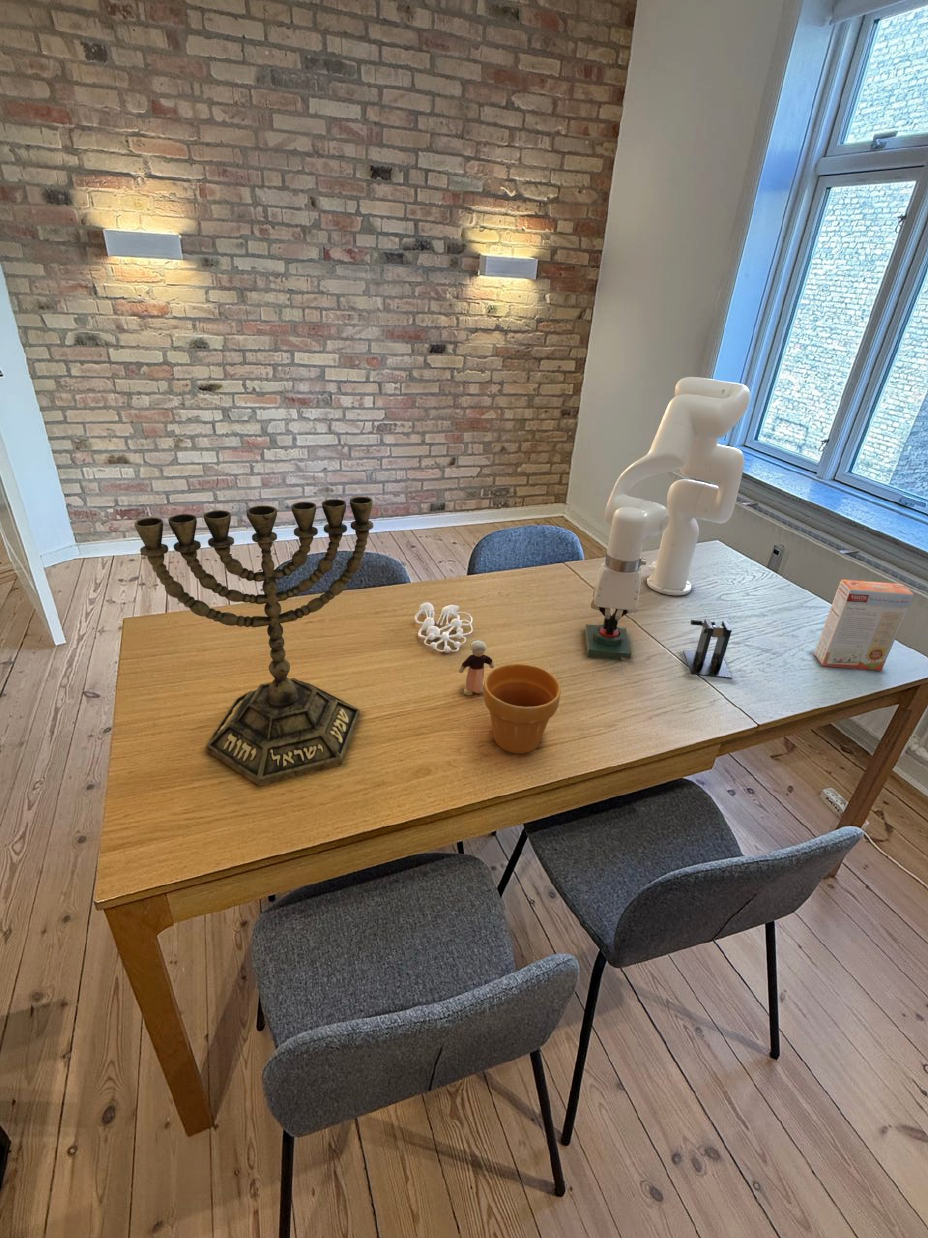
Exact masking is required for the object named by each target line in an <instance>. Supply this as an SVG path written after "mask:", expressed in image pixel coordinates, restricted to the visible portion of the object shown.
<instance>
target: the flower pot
mask: <svg viewBox="0 0 928 1238" xmlns="http://www.w3.org/2000/svg"><path fill="white" fill-rule="evenodd" d="M483 690H484V693H483V701H484V704H485V706H486V708H487V710H489V716H490V722H491V729H492V733H493V737H494V741H495V743H496V744H497V745H498V747H500V748H501V749H502V750H504V751H505V752H509V753H512V754H525V753H526V754H527V753H531V752H532V751H534V750H535V749H537V747H538V746H539V744H540V742H541V740H542V737H543V735H544V734H545V731H546V728H547V725H548V722H549V721H550V718H552V717H553V716H554V715H555V713H556V712H557V710H558V708H559V704H560V700H561V695H562V694H561V692H562V688H561V684H560V682H559V680H558V679H557V677H556V676H555V675H554V674H552V673H551V672H549V671H548V670H546V669H544V668H541V667H539V666H536V665H531V664H526V663H509V664H504V665H500V666H498V667H494V668H493V669H492V670H491V671H490V672H488V673H487V675H486V676H485V678H484V680H483Z"/></svg>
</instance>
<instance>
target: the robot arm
mask: <svg viewBox="0 0 928 1238" xmlns="http://www.w3.org/2000/svg"><path fill="white" fill-rule="evenodd" d="M750 400H751V392H750V389H749V387H748V386H747V385H745V384H743V383H739V382H731V381H725V380H718V379H712V378H708V377H707V378H705V377H698V376H686V377H682V378H680V379H679V380H678V381H677V382H676V384H675V388H674V397H672V398H671V400H670V401H669V402H668V405H667V407H666V409H665V411H664V413H663V416H662V419H661V421H660V423H659V426H658V429H657V431H656V433H655V435H654V438H653V441H652V442H651V446H650V449H649V451H648V452H647V454H645V455H644V456H642V457H640V458H639V459H637V460H636V461H634V462H633V463H632V464H631V465H629V466H627V468H626V469H625V470H623V472H621V474H620V475H619V477H618V478H617V480H616V481H615V484H614V486H613V488H612V490H611V493H610V495H609V497H608V501H607V503H606V507H605V510H604V516H605V520H606V522H607V523H608V524H609V525H611V526H610V532H609V539H608V543H607V548H606V549H607V550H606V555H605V559H604V561H603V562H601V564H600V566H599V569H598V571H597V574H596V577H595V578H596V579H595V581H594V587H593V592H592V600H591V602H590V609H592V610H595V611H598V612H600V613H601V614H602V615H603V617H604V619H603V623H602V624H603V629H606V634H609V633H610V634H612V635H613V632H614V630H616V629H617V627H618V623H619V621H620V620H621V618H622V617H625V615H627V614H635V613H637V612H638V609H637V607H638V604H639V598H640V591H641V581H642V571H641V570H642V569H641V566H646V565H647V559H646V558H642V552H643V547H644V543H645V539H649V538H654V537H657V536H658V535H660V534H661V533H662V536H661V541H660V545H659V549H658V553H657V558H656V560H654V561H652V562H651V563H650V564H649V565H648V566H647V569H648V570H650V571H651V575H650V574H649V576H648V577H647V579H646V584H647V586H648V587H649V588H650V589H651V590H653V591H655V592H657V593H659V594H663V595H668V596H684V595H688V594H689V593H690V592H691V590H692V583H691V582H690V581H689V576H690V572H691V568H692V564H693V560H694V555H695V552H696V548H697V543H698V539H699V534H700V529H699V525H698V522H697V520H701V521H705V522H708V523H714V524H725V523H727V522H728V521H729V520H730V519H731V517H732V515H733V513H734V510H735V506H736V502H737V498H738V493H739V490H740V486H741V481H742V478H743V473H744V467H745V455H744V453H743V452H742V450H740V449H739V448H736V447H732V446H728V445H723V444H719V439H722V438H724V437H725V436H726V435H727V434H728V433H729V432H730V431H731V430H732V429H733V428H734V427H735V426H736V425H737V424H738V423H739V421H740V420H741V419H742V418H743V417H744V415H745V414H746V412H747V411H748V408H749V405H750ZM675 471H679V472H680V473H681V475H683V476H685V477H688V478H687V479H686V478H683V479H677V480H675V481H674V482H673V483H672V484H671V485H670V486H669V489H668V490H667V491H668V492H667V497H666V505H663V504H661V503H659V502H654V501H650V500H646V499H643V498H639V497H634V496H630V495H628V494H629V493H630V491H631V489H632V488H633V487H634V486H635V485H636V484H637V483H639V482H640V481H642V480H644V479H646V478H648V477H653V476H657V475H660V474H666V473H671V472H675ZM689 478H690V479H689ZM694 479H695V480H694ZM698 480H699V481H698ZM703 481H704V482H703ZM711 483H712V484H711ZM611 609H613V610H614V612H613V613H611Z"/></svg>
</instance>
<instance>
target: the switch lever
mask: <svg viewBox="0 0 928 1238" xmlns="http://www.w3.org/2000/svg"><path fill="white" fill-rule="evenodd" d="M710 622H711V624H712V626H713V632H712V636H711V638H716V639H718V638H722V636H723V630H724V628H723V627H722V626H721V625H718V624H716V622H715V621H714V620H713V621H712V620H710ZM703 624H704V620H702V619H691V620H690V626H698V627H699V626H700V627H703Z"/></svg>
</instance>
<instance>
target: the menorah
mask: <svg viewBox="0 0 928 1238" xmlns="http://www.w3.org/2000/svg"><path fill="white" fill-rule="evenodd" d="M373 505H374V501H373V499H372V498H371V497H369V496H353V497H350V499H349V506H350V509H351V513H352V515H353V519H354V520H353V521H352V522H350V529H352V530H353V531H355V536H356V538H357V539H356V540H355V545H354V550H353V551H352V556H350V557H349V558H348V559H347V561H346V565H345V566H346V567H345V569H343V570H342V573H341V574H339V578H336V579H335V580H333V581H332V582H331V584H330V585H329V587H328V589H327V590H325V591H324V593H321V594H320V595H319V597H314V598H312V599H311V600H309V601H308V602H307V604H303V605H301V606H300V607H296V608H295V609H290V610H287V611H285V612H282V606H281V604H280V603H279V602H284V601H287V600H288V599H289V598H293V597H294V596H298V595H299V594H300V593H305V592H308V591H309V590H311V589H312V588H313V587H314V586H315V584H317V583H319V582H320V579H322V578H323V577H325V574H326V573H328V572H330V571H331V570H332V569H333V566H334V560H335V559H336V557H337V554H338V552H339V551H338V549H339V548H340V541H341V540H342V538H343V535H344V534H345V533H346V532H347V531H348V526H347V525H346V524H345V523H343V521H344V517H345V515H346V510H347V502H346V501H345V500H343V499H340V498H339V499H338V498H330V499H325V500H322V502H321V508H322V511H323V513H324V516H325V519H326V522H327V524H324V526H323V532H324V533H326V534H327V535H328V539H329V542H328V543H327V546H328V547H327V548H326V553H325V554H324V556H323V557H322V558H320V559H319V561H318V562H317V568H315V569H314V570H313V572H311V573H309V577H307V578H304V579H302V580H300V581H299V582H298V583H297V585H294V586H292V587H291V588H287V589H286V590H280V591H279V584H278V581H276V580H281V579H284V578H285V577H286V576H287V577H289V576H291V575H292V574H293V573H294V572H296V571H297V570H298V568H300V567H302V566H303V565H305V564H306V562H307V560H308V554H309V553H310V552H311V545H312V543H313V541H314V537H315V536H317V535H318V534H319V529H318V528H317V527H316V526H313V525H314V521H315V517H316V513H317V504H316V503H314V502H311V501H297V502H294V503H292V504H291V506H290V508H291V513H292V515H293V518H294V520H295V522H296V525H297V527H295V528H294V529H293V535H294V536H295V537H298V540H299V544H300V545H299V546H298V549H297V550H296V551H295V552H294V553H293V554H292V555H291V561H288V562H287V564H286V565H282V568H276V569H275V562H274V560H273V556H272V549H271V548H272V546H273V544H274V542H275V541H277V539H278V534H277V533H276V532H275V531H273V530H274V527H275V523H276V519H277V517H278V510H277V508H276V507H275V506H272V505H262V504H261V505H254V506H251V507H249V508H247V509H246V510H245V513H246V517H247V519H248V522H249V523H250V525H251V526H252V528H253V530H254V531H255V532H254V533H253V534H252V535H251V540H252V541H253V542H254V543H256V544H257V545H258V548H260V550H261V552H260V553H261V563H260V567H261V571H256V572H254V571H253V570H252V569H248V568H247V567H243V564H242V562H241V561H240V560H238V559H236V558H233V556H232V555H231V546H233V545H234V544H235V539H234V537H233V536H231V535H229V533H230V527H231V522H232V514H231V512H230V511H228V510H223V509H217V510H216V509H215V510H210V511H207V512H204V513H203V521H204V523H205V525H206V527H207V529H208V530H209V533H210V534H211V537H210V538H209V539H207V544H208V546H209V547H210V548H212V549H213V548H214V551H215V553H216V554H217V555H218V556H219V560H220V562H221V564H223V565H224V567H225V569H226V571H227V572H228V573H229V574H232V575H234V576H237V577H239V578H240V579H242V580H246V581H248V582H252V581H254V582H256V583H260V582H261V583H262V587H261V588H262V591H263V593H264V594H263V593H259V594H258V593H257V594H254V593H250V594H249V593H243V592H242V591H240V590H238V589H229V588H228V587H227V586H226V585H223V584H222V583H220V582H218V581H217V579H216V577H215V576H214V575H213V574H211V573H208V572H207V571H206V569H204V567H203V565H202V564H201V563H200V559H198V558H197V557H198V550H200V549H201V547H202V543H201V542H200V541H199V540H196V539H195V537H196V531H197V526H198V525H197V524H198V518H197V516H196V515H194V514H190V513H180V514H175V515H172V516H170V517H168V519H167V521H168V525H169V527H170V529H171V531H172V532H173V534H174V537H175V538H176V540H177V542H175V543H174V544H173V550H174V551H175V552H177V553H180V556H181V557H182V558H183V560H184V561H185V562H186V565H187V566H188V568H189V569H190V572H191V573H192V574H193V576H194V578H195V579H198V583H199V584H200V586H201V587H202V588H203V589H206V590H211V591H212V592H213V594H217V595H218V596H219V597H220V598H221V597H222V598H225V599H226V600H228V601H230V602H233V603H241V602H242V603H245V604H247V603H250V604H256V605H264V607H263V608H264V609H263V611H264V615H263V616H262V615H253V616H250V615H246V616H245V615H236V614H235V613H233V612H228V611H226V612H225V611H223V612H222V611H221V610H216V609H214V608H211V607H210V606H209V605H208V604H207V603H206V602H205V601H202V600H200V599H195V597H194V596H192V595H190V593H188V592H186V591H185V588H184V586H183V585H182V583H180V582H179V581H176V580H175V579H174V577H173V575H171V574H170V573H171V572H170V571H169V569H167V565H166V564H165V563H164V562H165V555H166V554H167V553H168V552H169V546H168V544H165V543H162V542H163V535H164V521H163V519H162V518H159V517H153V516H152V517H143V518H140V519H137V520H136V521H134V523H133V524H134V528H135V530H136V532H137V534H138V536H139V537H140V539H141V541H142V543H143V546H142V547H141V548H140V549H139V552H140V555H142V556H143V557H147V560H148V562H149V564H150V566H151V568H152V571H153V572H154V573H156V574H155V576H156V578H158V579H159V582H160V584H161V585H163V586H164V591H165V593H166V594H167V595H168V596H169V597H172V598H174V599H177V601H178V602H179V603H181V604H183V606H184V608H188V609H189V610H190V611H191V612H192V614H195V615H196V616H199V617H205V618H206V619H208V620H213V621H214V622H219V623H220V624H222V625H225V626H229V627H233V626H237V627H240V628H242V627H246V628H250V627H251V628H260V627H267V628H266V632H267V635H268V637H269V639H268V646H269V648H270V651H269V655H270V658H271V661H270V662H269V665H268V671H269V673H270V675H271V676H272V677H273V678H274V679H272V681H270V682H266V683H261V684H259V686H258V687H257V688H256V689H254V690H250V691H247V692H246V693H243V694H242V695H240V696H238V697H237V698H236V699H235V701H234V702H233V704H232V705H231V707H230V708H229V710H228V711H227V713H226V715H225V716H224V718H223V719H222V721H221V722H220V724H219V725H218V727H217V728H216V730H215V731H214V732H213V734H212V736H211V737H210V739H209V740H208V742H207V743H206V745H205V748H206V752H207V753H208V754H210V755H212V756H213V757H215V758H216V759H217V760H219V761H221V762H222V763H224V764H225V765H227V766H228V767H230V768H231V769H233V770H234V771H235V772H237V773H239V774H240V775H242V776H243V777H245V778H246V779H248V780H249V781H251V782H252V783H254V784H255V785H257V786H258V787H262V786H266V785H270V784H275V783H277V782H281V781H285V780H288V779H293V778H297V777H300V776H304V775H307V774H311V773H315V772H319V771H323V770H328V769H330V768H334V767H338V766H342V765H343V762H344V759H345V757H346V754H347V752H348V748H349V746H350V743H351V740H352V737H353V735H354V732H355V730H356V727H357V725H358V721H359V719H360V716H361V712H360V708H358V707H355V706H353V705H351V704H350V703H348V702H347V701H344V700H342V699H340V698H338V697H337V696H335V695H332V694H331V693H329V692H326V691H325V690H323V689H321V688H319V687H317V686H315V685H313V684H311V683H309V682H306V681H303V680H299V679H297V678H295V677H290V678H289V677H288V675H289V673H290V670H291V664H290V662H289V661H288V660H287V659H286V656H287V655H286V653H287V652H286V649H285V638H284V637H283V635H284V627H283V625H282V624H284V623H290V622H294V621H297V620H298V619H302V618H303V617H304V616H309V615H310V614H312V613H315V612H317V611H319V610H321V609H323V607H324V606H325V605H327V604H329V602H330V601H332V600H334V599H335V597H336V596H339V595H340V594H341V593H343V592H344V590H345V589H346V587H347V584H349V583H350V582H351V578H354V574H355V573H356V572H357V571H358V570H359V569H360V568H361V567H362V564H363V561H362V559H363V558H364V556H365V551H366V550H367V549H366V546H367V545H368V537H369V534H370V531H371V530H372V529H373V528H374V523H373V522H372V521H371V520H370V516H371V512H372V508H373ZM265 615H266V616H265Z"/></svg>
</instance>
